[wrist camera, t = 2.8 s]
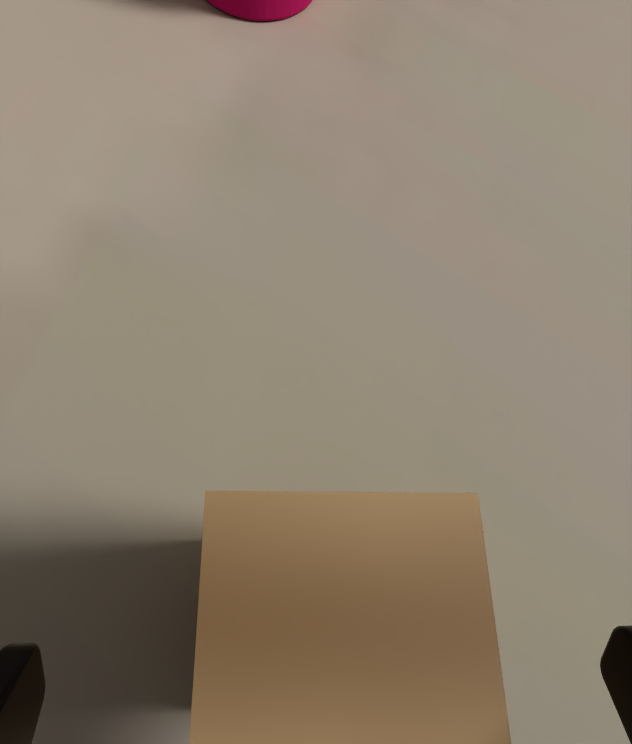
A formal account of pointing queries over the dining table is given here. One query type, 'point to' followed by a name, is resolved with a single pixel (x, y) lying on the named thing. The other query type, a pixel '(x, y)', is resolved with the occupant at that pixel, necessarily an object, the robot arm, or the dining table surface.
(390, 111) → the dining table surface
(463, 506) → the oak block
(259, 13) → the pepper mill
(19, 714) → the robot arm
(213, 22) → the dining table surface
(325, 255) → the dining table surface
